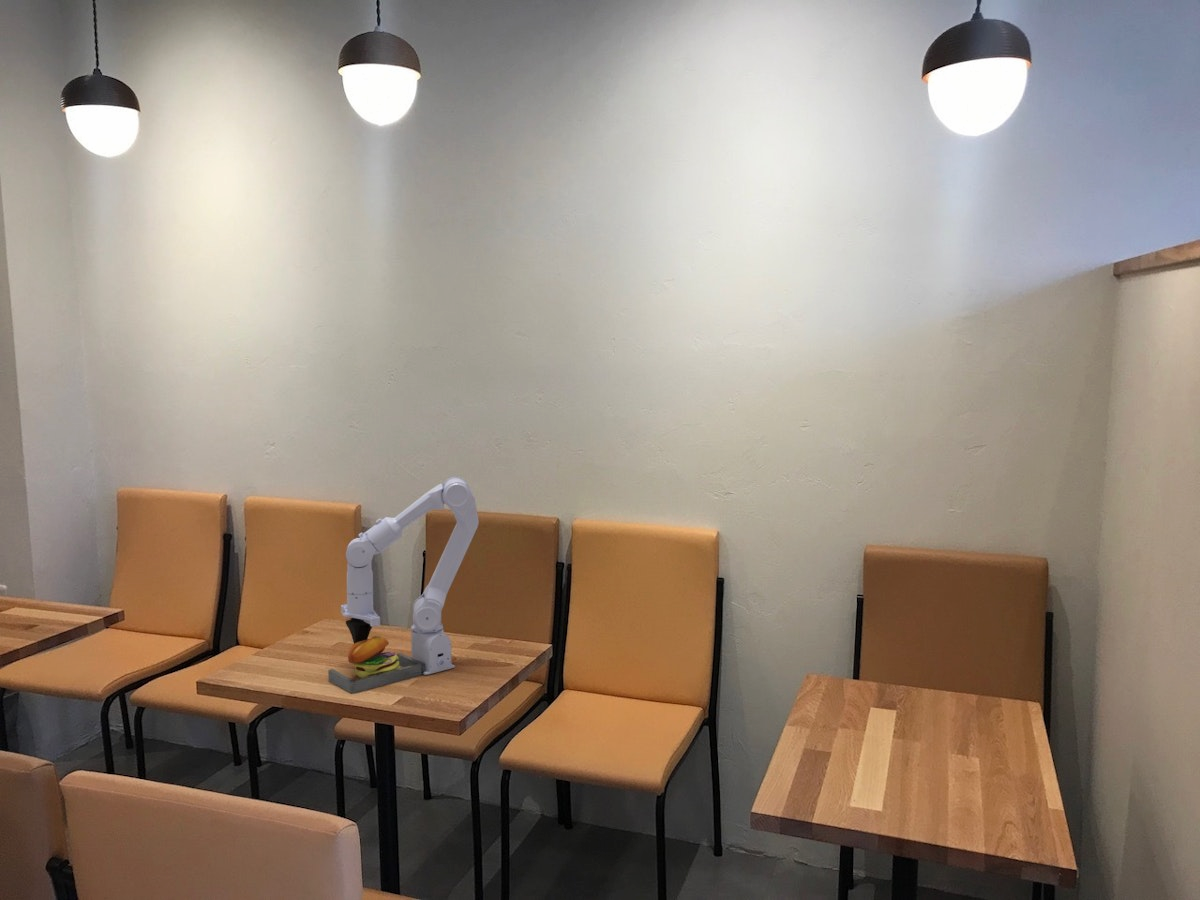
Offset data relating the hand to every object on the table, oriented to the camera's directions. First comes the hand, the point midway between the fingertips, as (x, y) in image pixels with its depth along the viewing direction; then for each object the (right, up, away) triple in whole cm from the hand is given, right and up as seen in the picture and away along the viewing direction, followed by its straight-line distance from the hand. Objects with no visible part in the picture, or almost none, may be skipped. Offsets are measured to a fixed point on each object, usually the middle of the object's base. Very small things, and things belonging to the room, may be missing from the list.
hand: (360, 650), depth 212 cm
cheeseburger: (+4, -5, -4) cm, 8 cm away
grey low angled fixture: (+5, -5, -5) cm, 8 cm away
